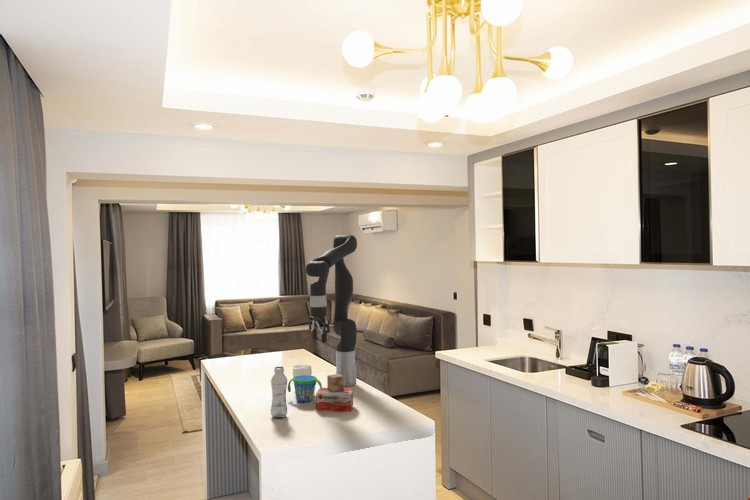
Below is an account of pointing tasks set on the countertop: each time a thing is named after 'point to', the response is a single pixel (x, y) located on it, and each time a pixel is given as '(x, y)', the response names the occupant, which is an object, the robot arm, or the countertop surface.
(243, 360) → the countertop surface
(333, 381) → the walnut block
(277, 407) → the plastic bottle
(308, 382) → the snack cup
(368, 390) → the countertop surface
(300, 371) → the cup
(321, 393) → the medicine box
